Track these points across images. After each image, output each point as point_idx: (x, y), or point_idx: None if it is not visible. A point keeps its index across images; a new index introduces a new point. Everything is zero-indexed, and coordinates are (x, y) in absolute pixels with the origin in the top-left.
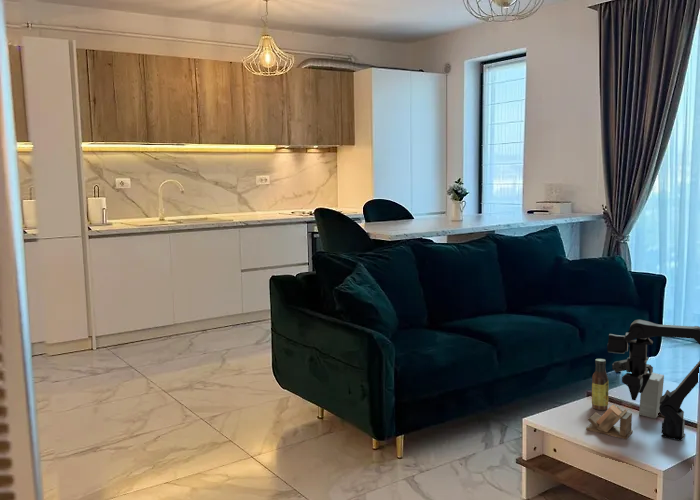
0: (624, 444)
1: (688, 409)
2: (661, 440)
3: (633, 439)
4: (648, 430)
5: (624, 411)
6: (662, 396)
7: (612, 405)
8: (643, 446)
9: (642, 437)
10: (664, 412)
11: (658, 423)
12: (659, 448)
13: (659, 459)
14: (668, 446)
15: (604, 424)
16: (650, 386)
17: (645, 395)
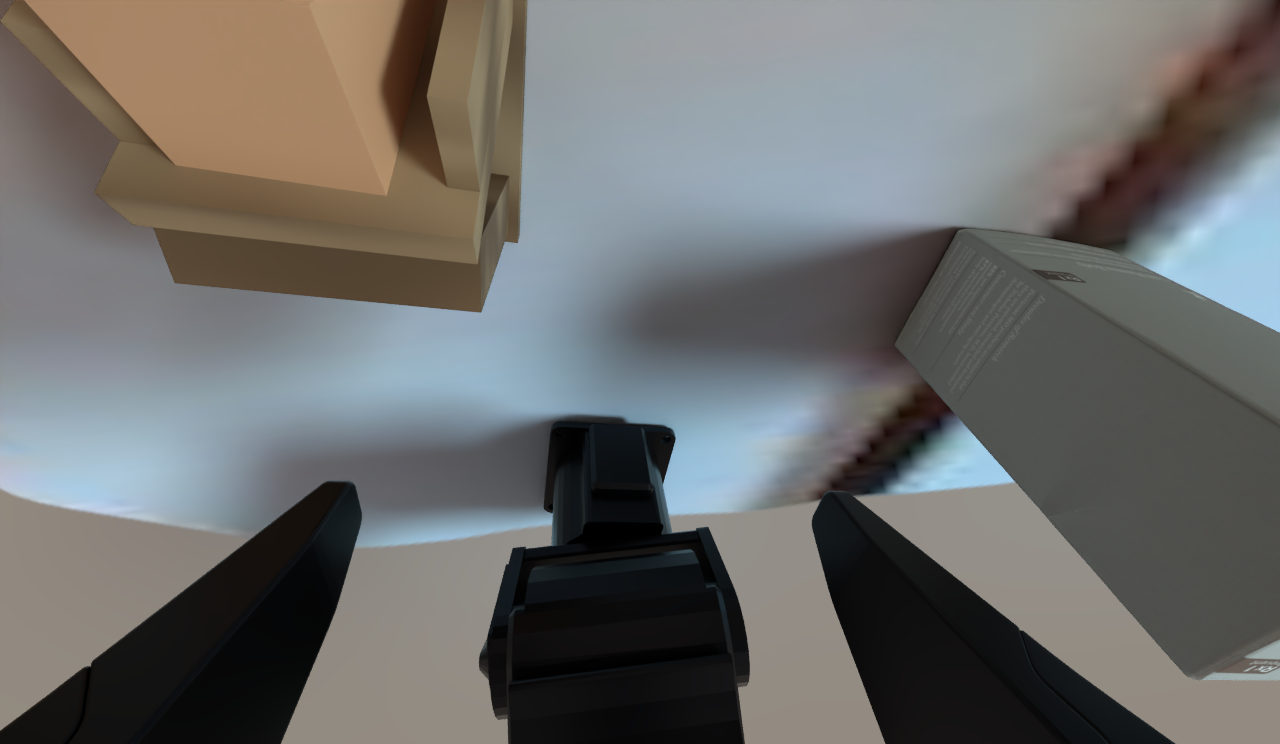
0: None
1: None
2: (487, 426)
3: None
4: (632, 335)
5: (378, 239)
6: (718, 690)
7: (225, 2)
8: (272, 350)
9: (456, 319)
10: (493, 623)
11: (801, 372)
12: (332, 435)
13: (136, 459)
14: (412, 467)
15: None
16: (1169, 521)
17: (1087, 381)
